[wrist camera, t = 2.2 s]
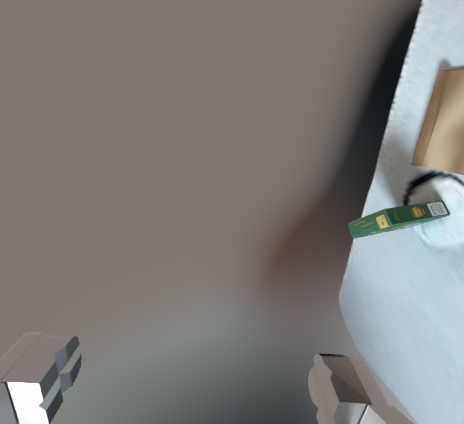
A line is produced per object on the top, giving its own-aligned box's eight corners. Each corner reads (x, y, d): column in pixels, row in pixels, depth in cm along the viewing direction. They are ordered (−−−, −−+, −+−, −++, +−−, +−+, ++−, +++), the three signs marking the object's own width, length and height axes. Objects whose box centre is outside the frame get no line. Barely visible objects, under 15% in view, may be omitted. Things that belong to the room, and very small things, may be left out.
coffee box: (445, 198, 40) (383, 208, 36) (453, 214, 39) (391, 227, 35) (400, 213, 47) (345, 223, 43) (407, 228, 46) (351, 239, 42)
